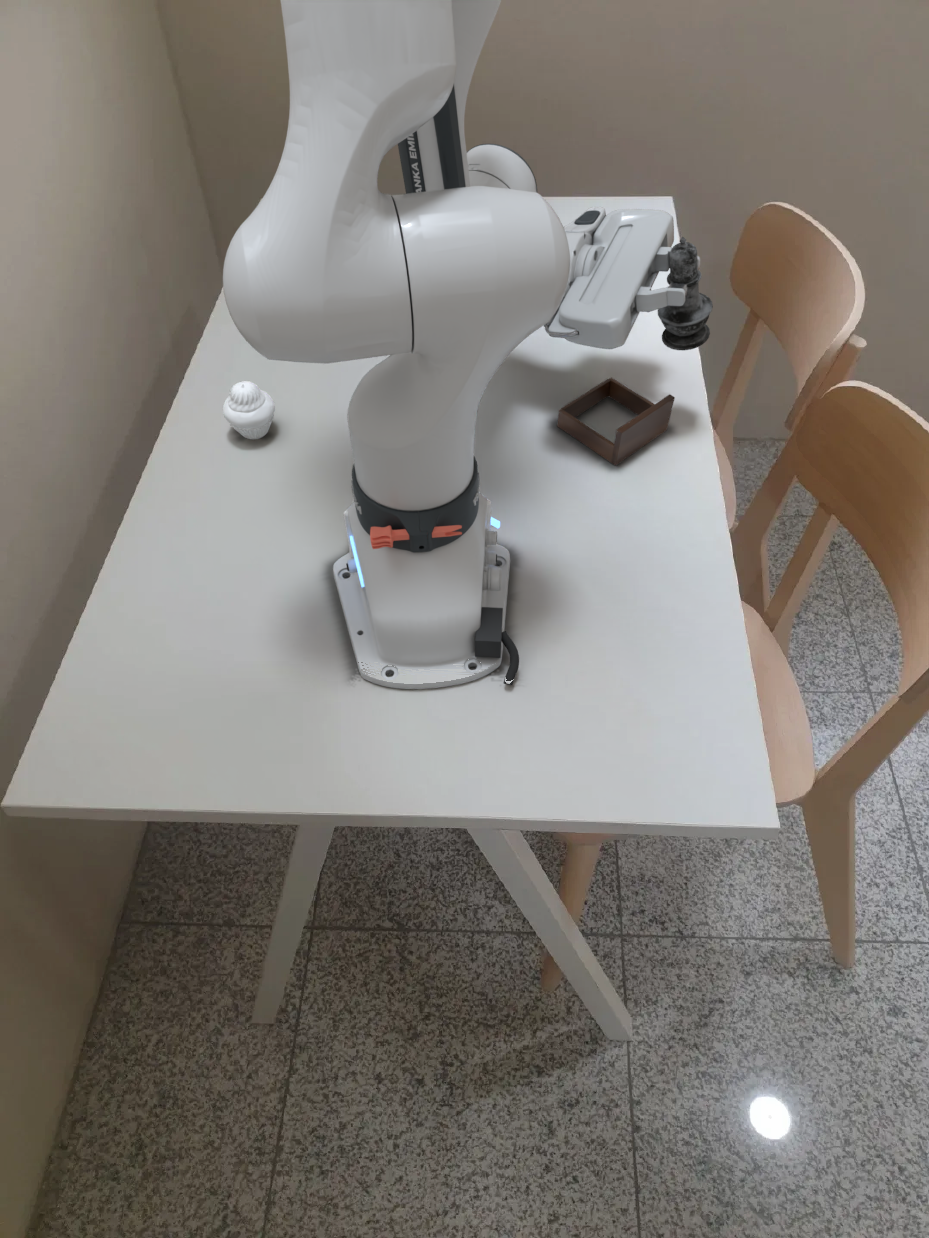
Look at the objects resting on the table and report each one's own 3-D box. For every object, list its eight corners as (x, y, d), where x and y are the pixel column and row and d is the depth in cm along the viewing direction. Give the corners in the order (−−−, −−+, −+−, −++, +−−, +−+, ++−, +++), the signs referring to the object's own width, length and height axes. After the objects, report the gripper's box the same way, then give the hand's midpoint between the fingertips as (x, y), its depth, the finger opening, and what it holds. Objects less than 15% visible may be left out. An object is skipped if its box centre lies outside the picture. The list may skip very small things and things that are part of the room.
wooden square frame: (556, 426, 103) (559, 392, 99) (608, 392, 107) (613, 359, 103) (615, 466, 99) (621, 433, 95) (667, 430, 102) (675, 397, 98)
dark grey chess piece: (697, 312, 97) (695, 213, 87) (722, 339, 93) (723, 239, 84) (650, 331, 97) (643, 235, 87) (673, 359, 93) (669, 261, 84)
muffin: (269, 451, 101) (257, 404, 95) (221, 444, 102) (207, 397, 96) (287, 418, 104) (276, 371, 99) (241, 411, 105) (228, 364, 100)
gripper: (532, 308, 87) (662, 316, 82) (596, 198, 97) (717, 198, 91) (541, 358, 92) (665, 368, 87) (601, 248, 102) (717, 251, 96)
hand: (692, 280), depth 89 cm, fingers closed on dark grey chess piece, 3 cm apart
